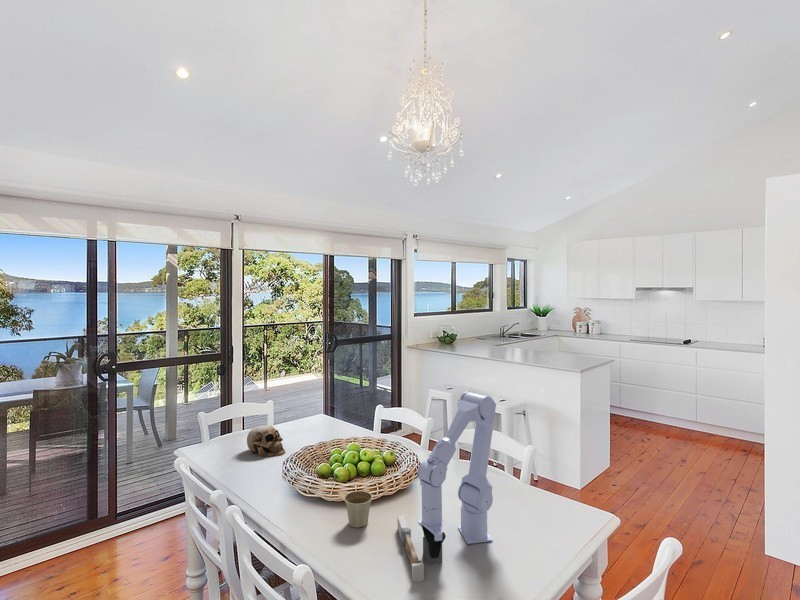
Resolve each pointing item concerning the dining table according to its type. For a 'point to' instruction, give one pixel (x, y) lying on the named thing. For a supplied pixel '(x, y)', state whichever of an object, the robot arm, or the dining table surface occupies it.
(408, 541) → the door
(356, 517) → the flower pot
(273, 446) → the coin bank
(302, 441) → the dining table surface
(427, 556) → the block
